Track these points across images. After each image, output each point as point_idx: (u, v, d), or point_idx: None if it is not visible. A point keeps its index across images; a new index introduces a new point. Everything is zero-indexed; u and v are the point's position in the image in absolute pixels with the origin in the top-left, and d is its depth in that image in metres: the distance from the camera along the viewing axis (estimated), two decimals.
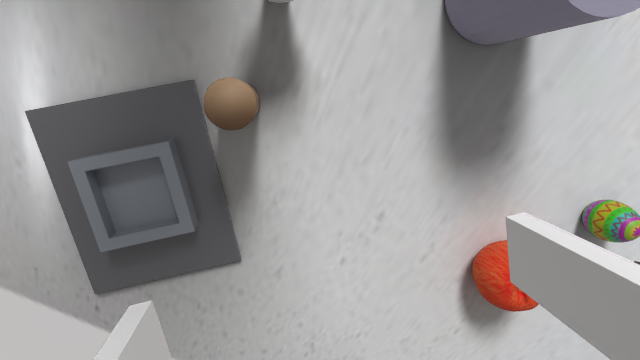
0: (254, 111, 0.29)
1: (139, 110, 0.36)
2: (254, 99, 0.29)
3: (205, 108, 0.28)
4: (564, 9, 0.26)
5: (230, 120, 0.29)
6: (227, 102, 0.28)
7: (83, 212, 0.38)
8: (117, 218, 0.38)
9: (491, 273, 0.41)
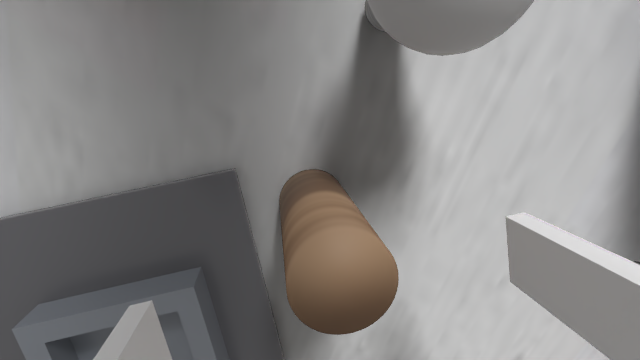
0: (392, 294, 0.13)
1: (141, 224, 0.21)
2: (395, 271, 0.13)
3: (289, 295, 0.13)
4: None
5: (341, 316, 0.13)
6: (337, 280, 0.13)
7: None
8: None
9: None
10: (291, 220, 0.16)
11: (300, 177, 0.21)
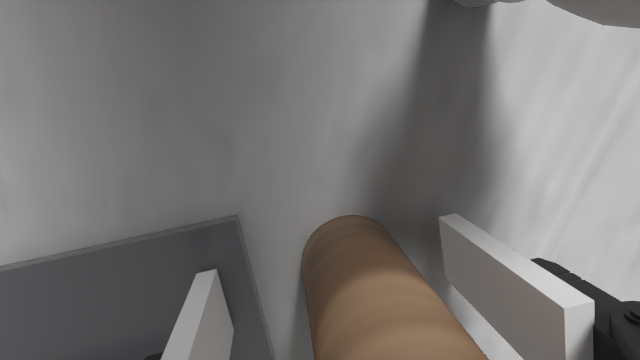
0: None
1: (96, 300, 0.14)
2: None
3: None
4: None
5: None
6: None
7: None
8: None
9: None
10: (334, 338, 0.09)
11: (335, 231, 0.14)
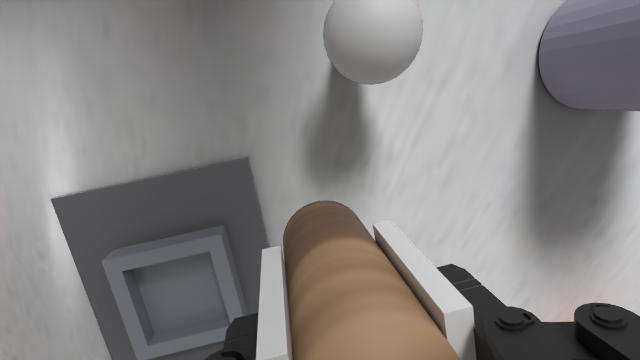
0: None
1: (184, 194, 0.31)
2: None
3: None
4: None
5: None
6: None
7: (117, 310, 0.32)
8: (156, 317, 0.32)
9: None
10: (301, 284, 0.11)
11: (309, 212, 0.16)
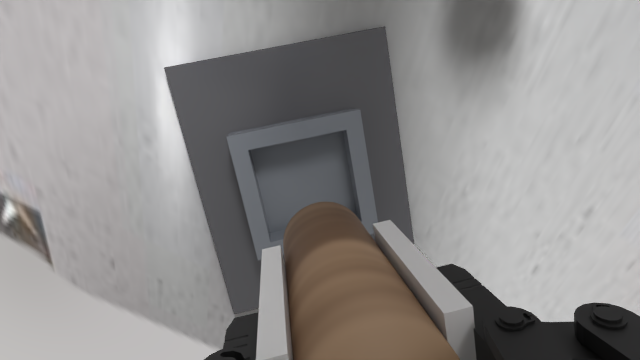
0: None
1: (312, 68, 0.27)
2: None
3: None
4: None
5: None
6: None
7: (229, 206, 0.28)
8: (273, 215, 0.29)
9: None
10: (301, 286, 0.11)
11: (310, 214, 0.16)
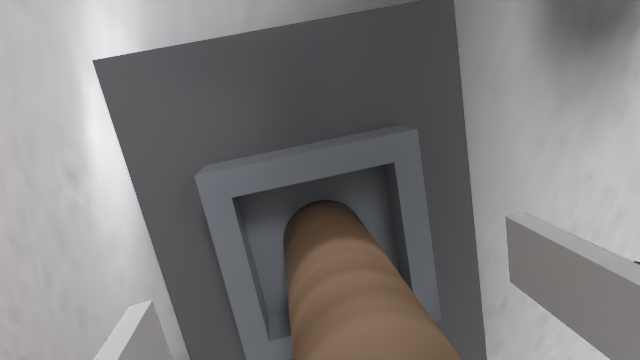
0: None
1: (336, 62, 0.17)
2: None
3: None
4: None
5: None
6: None
7: (204, 279, 0.18)
8: (274, 291, 0.18)
9: None
10: (301, 286, 0.11)
11: (309, 212, 0.16)
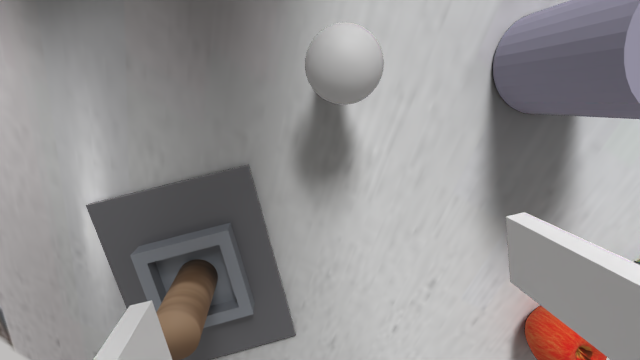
0: (198, 340, 0.29)
1: (196, 197, 0.37)
2: (197, 330, 0.28)
3: None
4: (637, 112, 0.26)
5: (174, 352, 0.29)
6: (169, 336, 0.28)
7: (142, 297, 0.38)
8: None
9: (549, 341, 0.40)
10: (162, 302, 0.31)
11: (184, 267, 0.36)
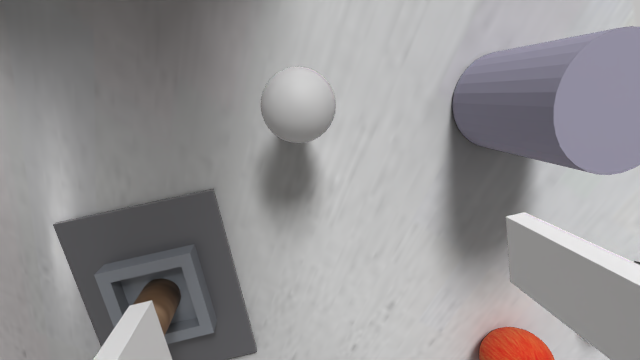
0: None
1: (161, 219, 0.38)
2: None
3: None
4: (569, 164, 0.28)
5: None
6: None
7: (107, 313, 0.40)
8: None
9: None
10: None
11: (147, 286, 0.38)
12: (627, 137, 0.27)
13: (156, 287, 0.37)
